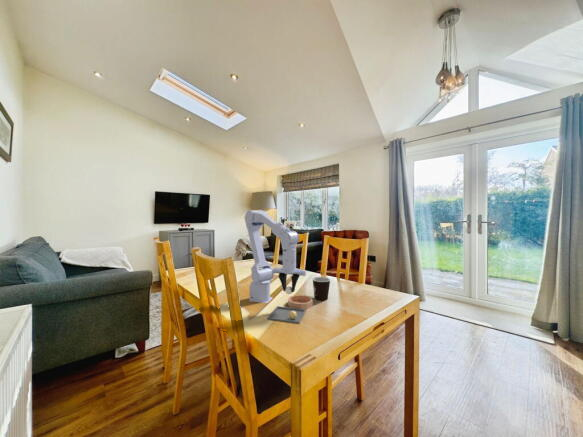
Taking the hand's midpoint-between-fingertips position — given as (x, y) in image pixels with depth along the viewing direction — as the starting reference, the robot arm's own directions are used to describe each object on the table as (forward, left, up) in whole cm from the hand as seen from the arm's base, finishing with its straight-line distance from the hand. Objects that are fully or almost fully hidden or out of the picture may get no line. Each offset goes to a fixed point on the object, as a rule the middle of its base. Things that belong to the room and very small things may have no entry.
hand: (288, 291), depth 100 cm
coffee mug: (+11, +20, -9) cm, 25 cm away
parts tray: (+1, -5, -9) cm, 10 cm away
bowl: (+3, +8, -9) cm, 12 cm away
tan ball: (+4, -8, -8) cm, 12 cm away
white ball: (0, 0, -1) cm, 1 cm away
